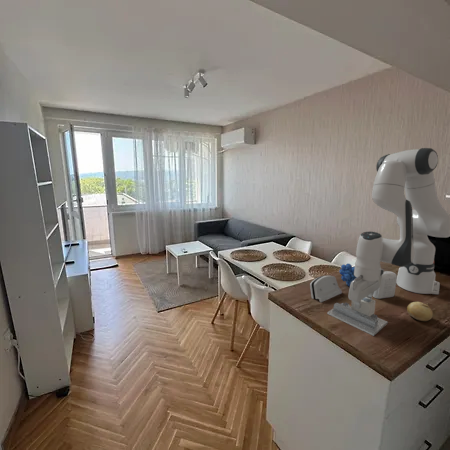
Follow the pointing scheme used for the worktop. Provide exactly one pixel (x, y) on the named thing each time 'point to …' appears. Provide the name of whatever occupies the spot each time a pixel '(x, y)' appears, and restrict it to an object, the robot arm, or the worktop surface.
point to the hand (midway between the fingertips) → (363, 304)
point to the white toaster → (324, 288)
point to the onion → (420, 311)
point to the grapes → (347, 273)
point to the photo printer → (386, 285)
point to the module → (365, 306)
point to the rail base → (380, 323)
